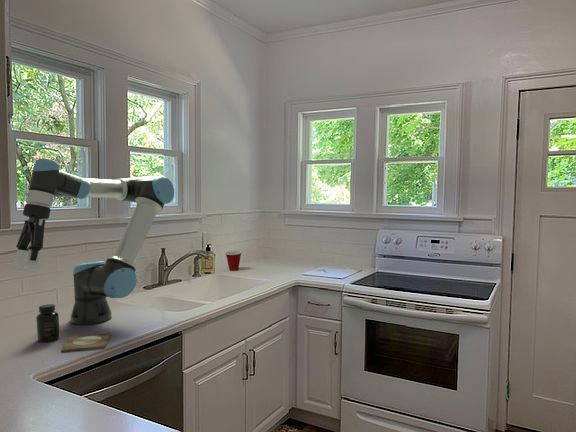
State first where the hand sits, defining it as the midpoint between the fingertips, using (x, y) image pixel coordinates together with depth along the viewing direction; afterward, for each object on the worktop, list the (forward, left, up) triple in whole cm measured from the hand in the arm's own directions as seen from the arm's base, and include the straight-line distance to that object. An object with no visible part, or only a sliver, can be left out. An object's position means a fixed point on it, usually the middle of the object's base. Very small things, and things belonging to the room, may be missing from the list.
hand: (23, 270), depth 139 cm
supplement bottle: (-12, +3, -27) cm, 29 cm away
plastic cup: (-127, +82, -27) cm, 154 cm away
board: (-4, +17, -26) cm, 32 cm away
